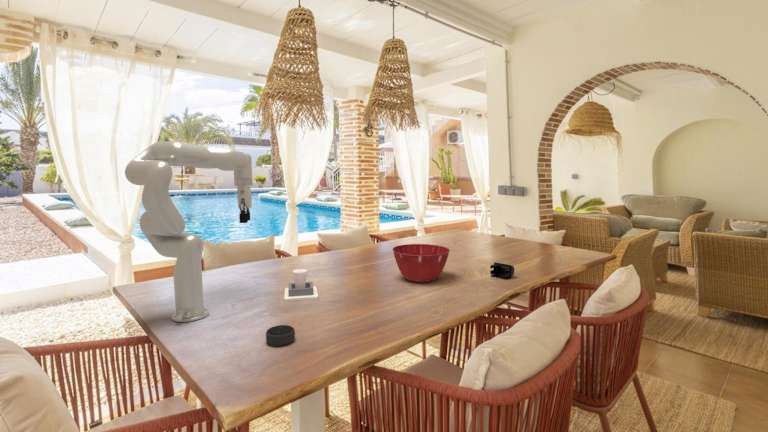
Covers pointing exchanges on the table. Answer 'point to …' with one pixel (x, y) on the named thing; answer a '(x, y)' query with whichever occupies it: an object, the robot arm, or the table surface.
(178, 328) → the table surface
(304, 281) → the smoothie
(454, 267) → the table surface
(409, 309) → the table surface
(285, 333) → the smart speaker
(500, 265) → the end cap
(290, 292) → the socket board
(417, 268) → the mixing bowl
